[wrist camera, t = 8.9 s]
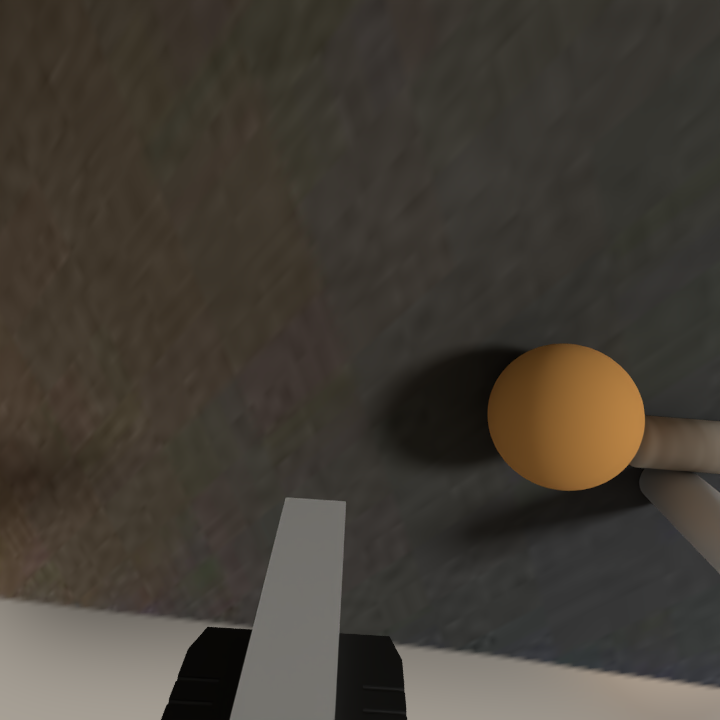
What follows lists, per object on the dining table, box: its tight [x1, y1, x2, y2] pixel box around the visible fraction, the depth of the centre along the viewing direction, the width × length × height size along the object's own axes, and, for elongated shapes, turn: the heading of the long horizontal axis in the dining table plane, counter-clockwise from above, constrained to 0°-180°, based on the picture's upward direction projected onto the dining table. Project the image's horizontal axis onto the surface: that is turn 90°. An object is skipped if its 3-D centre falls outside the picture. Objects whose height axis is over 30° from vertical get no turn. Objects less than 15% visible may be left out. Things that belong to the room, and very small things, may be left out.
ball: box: [487, 344, 645, 491], centre depth 21 cm, size 6×6×6 cm
